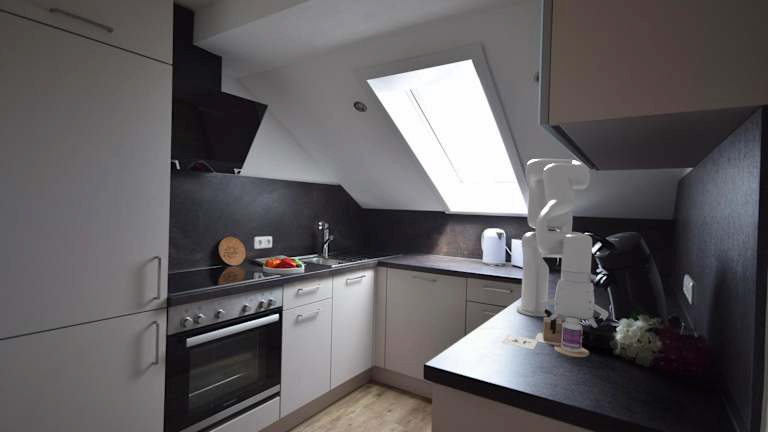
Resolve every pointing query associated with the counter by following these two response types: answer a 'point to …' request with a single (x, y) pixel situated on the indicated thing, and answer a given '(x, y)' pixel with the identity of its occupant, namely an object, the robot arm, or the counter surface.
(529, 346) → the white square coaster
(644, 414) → the counter surface
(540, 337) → the tile block
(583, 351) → the cork coaster
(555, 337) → the walnut block
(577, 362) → the counter surface
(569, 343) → the pill bottle
